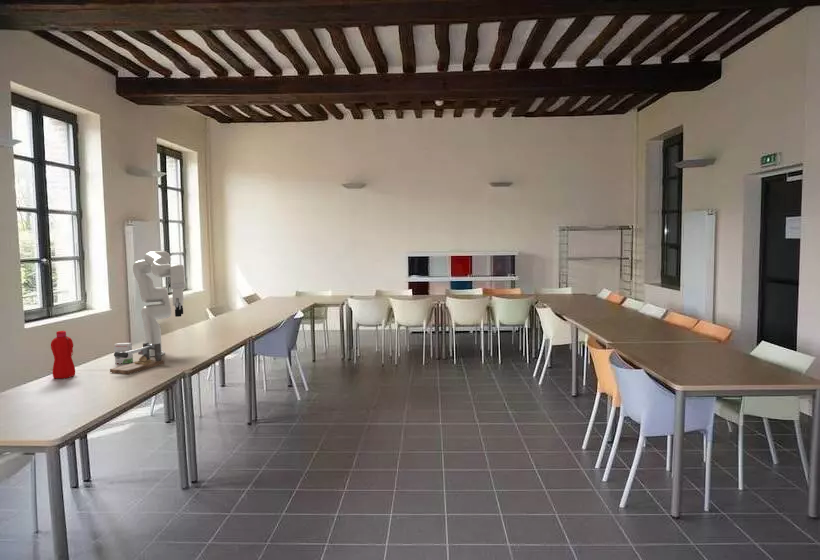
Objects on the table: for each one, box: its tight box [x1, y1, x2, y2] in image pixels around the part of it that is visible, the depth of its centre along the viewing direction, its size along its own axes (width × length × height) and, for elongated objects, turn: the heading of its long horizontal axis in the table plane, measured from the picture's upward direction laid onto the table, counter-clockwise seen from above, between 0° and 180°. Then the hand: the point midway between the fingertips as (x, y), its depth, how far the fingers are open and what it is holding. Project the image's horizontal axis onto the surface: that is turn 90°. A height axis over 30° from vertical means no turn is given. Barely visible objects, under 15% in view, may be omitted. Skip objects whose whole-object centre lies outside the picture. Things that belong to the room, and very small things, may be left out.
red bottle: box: [50, 330, 76, 380], centre depth 301 cm, size 9×11×25 cm
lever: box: [113, 344, 155, 358], centre depth 319 cm, size 25×7×4 cm, turn 160°
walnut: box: [138, 355, 147, 362], centre depth 323 cm, size 4×4×4 cm
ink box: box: [113, 342, 134, 365], centre depth 333 cm, size 8×5×12 cm, turn 91°
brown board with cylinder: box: [109, 342, 165, 375], centre depth 319 cm, size 13×26×12 cm, turn 160°
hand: (179, 315), depth 327 cm, fingers open, 9 cm apart
